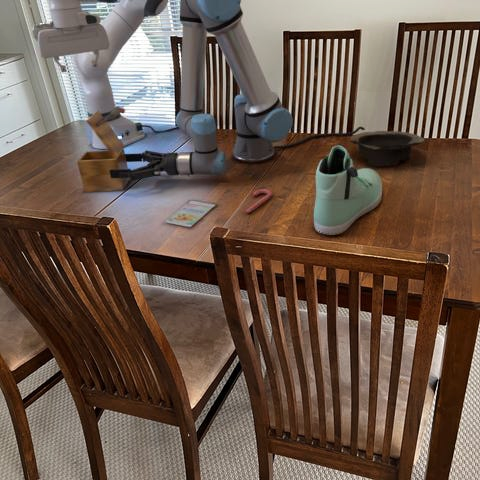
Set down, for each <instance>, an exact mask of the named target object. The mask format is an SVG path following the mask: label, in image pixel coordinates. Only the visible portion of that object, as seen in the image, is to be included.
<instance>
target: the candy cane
mask: <svg viewBox="0 0 480 480" xmlns="http://www.w3.org/2000/svg"><path fill="white" fill-rule="evenodd" d="M261 194H265V195H264V196H263V197H262V198H260V199H259V200H257V201H256V202H255V203H254V204H252V205H251V206H250V207H248V208H247V209H246V210H245V213H246V214H248V215H249V214H251V213H252V212H254V211H255V210H257V209H258V208H259V207H260V206H261V205H263V204H264V203H265V202H267V201H268V200H269V199H271V198H272V197H273V192H272V191H271V190H270V189H266V188H260V189H256V190H255V191H253V193H252V196H253V197H257V196H258V195H261Z"/></svg>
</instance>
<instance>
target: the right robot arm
mask: <svg viewBox="0 0 480 480" xmlns="http://www.w3.org/2000/svg"><path fill="white" fill-rule="evenodd" d="M179 2H180V3H179V22H180V24H181V25H182V36H181V37H182V38H181V40H182V42H181V71H180V72H181V73H180V74H181V75H180V105H179V112H178V113H177V114H176V117H175V124H176V127H179V128H178V129H179V130H180V132H182V133H183V134H184V135H186V136H188V138H190V139H191V140H192V141H193V148H194V151H179V153H178V152H166V153H164V152H157V151H153V150H145V151H143V152H141V153H139V152H138V153H125V157H126V162H127V163H137V162H138V163H145V162H146V163H147V164H146V165H143V166H140V167H137V168H134V169H131V168H128V169H114V170H109V171H110V176H111V178H130V180H129V182H135V181H139V180H144V179H149V178H155V177H161V176H162V174H161V173H163V172H165V173H166V175H167V176H168V177H169V176H171V177H173V176H179V175H180V176H188V177H190V176H215V175H223V174H224V173H225V171H226V167H227V159H226V153H225V152H224V151H223V150H219V148H218V140H217V139H218V137H217V124H216V120H215V117H214V115H212V114H211V113H203V106H204V92H205V91H204V87H205V74H206V73H205V71H206V57H207V55H206V54H207V39H208V34H210V35H213V36H215V39H216V42H217V43H218V45H219V46H218V47H219V48H220V50H221V52H222V54H223V56H224V58H225V60H226V63H227V65H228V67H229V69H230V71H231V73H232V75H233V77H234V79H235V82H236V83H237V86H238V88H239V90H240V92H241V93H240V94H238V95H235V97H234V105H233V107H234V115H235V128H236V129H235V130H236V140H235V142H234V147H233V151H232V152H233V154H232V155H233V159H234V160H235V161H238V162H240V163H245V164H257V163H263V162H267V161H269V160H271V159H272V158H273V157H274V156H275V150H276V149H286V148H291V147H294V146H295V147H296V146H298V145H301V144H302V143H305V142H306V141H308V140H311V139H315V138H320V137H333V136H336V137H337V136H340V137H343V136H353V135H355V134H357V132H359V131H360V130H362V131H365V130H366V128H365V127H363V126H358V127H356V129H354V130H353V131H351V132H328V133H318V134H313V135H308V136H307V137H305V138H303V139H301V140H298V141H296V142H293V143H290V144H289V143H288V144H285V145H273V143H279V142H281V141H283V140H284V139H285V138H287V136H288V135H289V134H290V133H291V130H292V128H293V123H294V122H293V121H294V119H293V115H292V113H291V112H290V111H289V110H288V109H287V108H285V107H284V106H283V104H282V102H281V100H280V97H279V94H278V93H277V92H275V91H272V90H271V88H270V86H269V84H268V81H267V79H266V77H265V74H264V72H263V70H262V67H261V65H260V63H259V60H258V58H257V56H256V54H255V51H254V49H253V47H252V44H251V42H250V39H249V37H248V35H247V32H246V30H245V28H244V26H243V23H242V18H243V16H244V12H243V9H242V7H241V2H242V0H179Z"/></svg>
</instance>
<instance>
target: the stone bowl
mask: <svg viewBox="0 0 480 480" xmlns="http://www.w3.org/2000/svg"><path fill="white" fill-rule="evenodd" d="M424 142H426V140H425V138H424V137H421V136H419V135H418V134H415V133H413V132H412V133H410V132H408V131H400V130H399V131H397V130H374V131H364V132H360V133H355V134H352V135H350V137H349V143H352V144H355V145H358V151H359V153H360V155H361V156H362V157H363V158H365V159H366V160H368V164H369V165H370V166H373V167H375V166H377V167H387V166H395V165H398V164H399V162H400V161H408V160H410V158H411V155H412V147H415V146H418V145H420V144H422V143H424Z"/></svg>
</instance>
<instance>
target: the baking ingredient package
mask: <svg viewBox="0 0 480 480" xmlns="http://www.w3.org/2000/svg"><path fill="white" fill-rule="evenodd" d="M215 206H216V204H213V203H207V202H202V201H196V200H190V201H189V202H187V203H186V204H185V205H184V206H183V207H181V208H180V209H179V210H178V211H176V212H174V214H172V215H171V216H169V218H167V219H166V220H165V221H164V223H167V224H172V225H177V226H182V227H189V228H191V227H192V226H193V225H195V224H196V223H197V222H198V221H199V220H201V219H202V218H203V217H204V216H205V215H206V214H207V213H208V212H210V210H212V209H213V208H214V207H215Z"/></svg>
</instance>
